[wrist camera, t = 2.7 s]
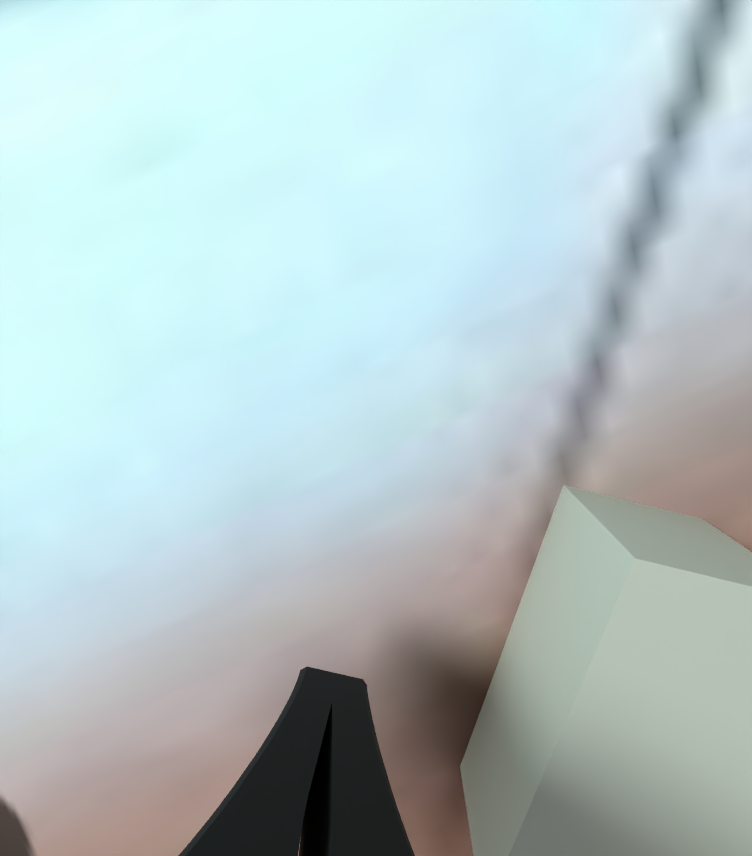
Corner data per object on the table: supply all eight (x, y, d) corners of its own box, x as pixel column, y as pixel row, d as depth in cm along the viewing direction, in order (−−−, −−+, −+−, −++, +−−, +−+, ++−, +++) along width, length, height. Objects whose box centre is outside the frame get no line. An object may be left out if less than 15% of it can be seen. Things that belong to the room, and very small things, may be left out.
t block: (809, 844, 16) (943, 1016, 12) (459, 765, 16) (482, 916, 12) (971, 585, 14) (1205, 696, 10) (563, 484, 13) (634, 558, 9)
